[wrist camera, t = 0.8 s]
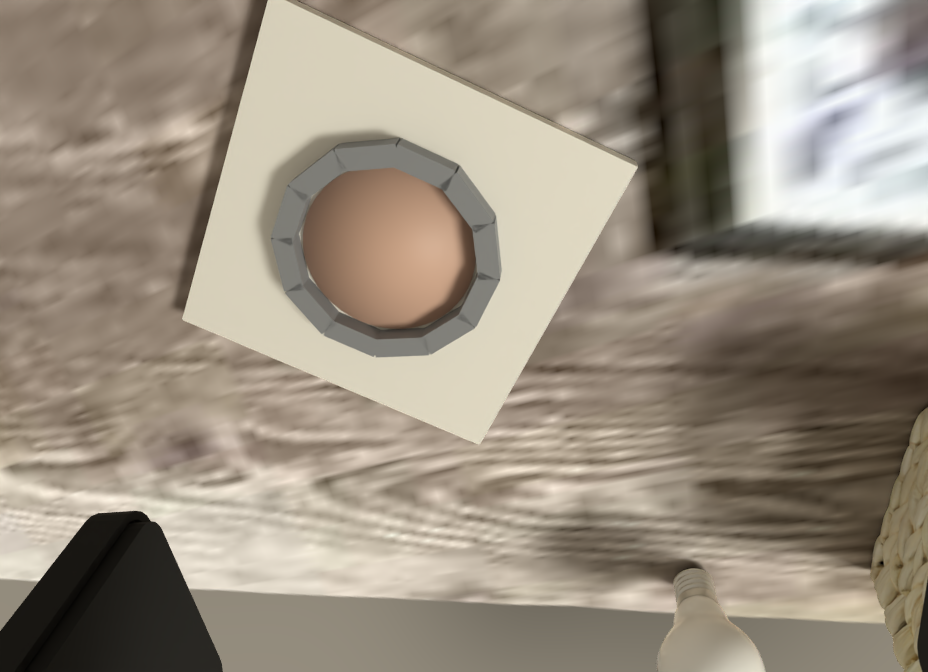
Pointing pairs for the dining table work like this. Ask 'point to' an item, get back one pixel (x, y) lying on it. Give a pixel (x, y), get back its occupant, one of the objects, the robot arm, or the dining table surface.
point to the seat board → (394, 222)
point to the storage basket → (905, 550)
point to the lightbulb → (704, 632)
